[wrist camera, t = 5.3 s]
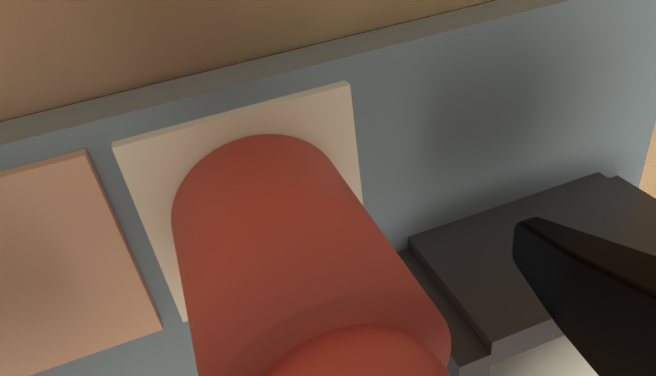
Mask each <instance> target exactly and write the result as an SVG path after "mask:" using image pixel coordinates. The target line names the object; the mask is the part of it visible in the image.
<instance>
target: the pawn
mask: <svg viewBox="0 0 656 376" xmlns="http://www.w3.org/2000/svg"><path fill="white" fill-rule="evenodd" d="M171 228H172V234H173V239H174V245H175V250H176V256H177V261H178V267H179V272H180V278H181V283H182V289H183V294H184V300H185V305H186V311H187V316H188V322H189V327H190V333H191V338H192V344H193V349H194V355H195V360H196V366H197V371H198V376H451V375H450V373H449V372H448V371H447V369H446V368H447V364H448V361H449V358H450V352H451V336H450V331H449V327H448V325H447V323H446V320H445V319H444V317H443V316H442V315H441V313H440V312H439V310H438V309H437V308H436V306H435V305H434V303H433V302H432V301H431V299H430V298H429V297H428V295H427V294H426V292H425V291H424V290H423V288H422V287H421V285H420V284H419V283H418V281H417V280H416V278H415V277H414V276H413V274H412V273H411V272H410V270H409V269H408V267H407V266H406V265H405V263H404V262H403V260H402V259H401V258H400V256H399V255H398V254H397V252H396V251H395V249H394V248H393V247H392V245H391V244H390V242H389V241H388V240H387V238H386V237H385V236H384V234H383V233H382V231H381V230H380V229H379V227H378V226H377V224H376V223H375V222H374V220H373V219H372V217H371V216H370V215H369V213H368V212H367V211H366V209H365V208H364V206H363V205H362V204H361V202H360V201H359V199H358V198H357V197H356V195H355V194H354V193H353V191H352V190H351V188H350V187H349V186H348V184H347V183H346V181H345V180H344V179H343V177H342V176H341V174H340V173H339V172H338V170H337V169H336V168H335V166H334V165H333V163H332V162H331V161H330V159H329V158H328V157H327V156H326V155H325V154H324V153H323V152H322V151H321V150H319V149H318V148H317V147H315V146H314V145H312V144H310V143H308V142H306V141H304V140H301V139H298V138H295V137H291V136H286V135H278V134H262V135H254V136H249V137H245V138H241V139H238V140H235V141H232V142H230V143H228V144H225V145H223V146H221V147H219V148H218V149H216V150H214V151H212V152H211V153H210V154H208V155H207V156H206V157H204V158H203V159H202V160H201V161H199V162H198V163H197V164H196V165H195V166H194V167H193V168H192V169H191V171H190V172H189V173H188V174H187V176H186V177H185V178H184V180H183V182H182V183H181V185H180V186H179V189H178V191H177V193H176V195H175V198H174V202H173V205H172V212H171Z"/></svg>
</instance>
